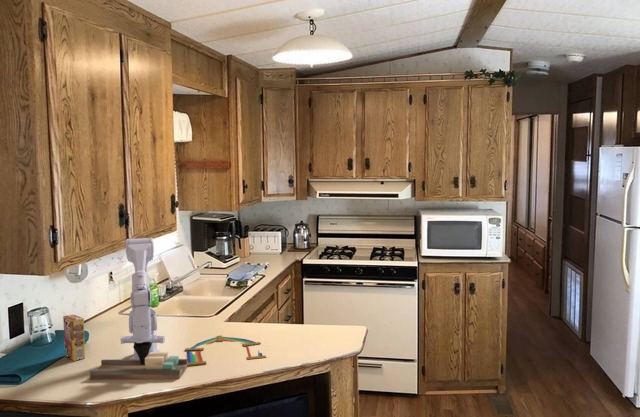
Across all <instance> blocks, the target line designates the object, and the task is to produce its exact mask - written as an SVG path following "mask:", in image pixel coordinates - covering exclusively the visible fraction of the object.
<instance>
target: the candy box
mask: <svg viewBox="0 0 640 417" xmlns="http://www.w3.org/2000/svg"><path fill="white" fill-rule="evenodd" d="M62 320H63V340H64V341H63V343H64V344H65V345H66V348H67V353H68V354H67V355H68V357H70V358H71V359H70V358H69V359H70V360H72V361H74V362H75V361H80V360H84V359H85V358H86V352H85V350H86V349H85V322H84V320H85V319H84V317H81V316H79V315H76V314H73V313H72V314H67V315H63V316H62ZM65 345H64V346H65ZM68 357H67V358H68ZM79 359H80V360H79Z"/></svg>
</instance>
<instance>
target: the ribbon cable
mask: <svg viewBox="0 0 640 417" xmlns="http://www.w3.org/2000/svg"><path fill="white" fill-rule="evenodd" d="M216 342H218V343H224V342H229V343H235V342H236V343H240V344H241V345H242V347H244V348H246V351H247V354H248V356H247V357H246V360H247V361H249V360H258V359H267V356H266V355H263V353H262V352H260V351H259V350H257V351H258V353H257V355H256V356H252V355H251V352H250V348H249V346H253V347H254V346H256V345H261V344H262V343H261V342H260V341H257V342H256V341H254V340H250V339H246V338H241V337H240V338H239V337H232V336H231V337H227V336H222V335H216V337H215V336H214V337H212V338H209V339H206V340H203V341H200V342H197V343H195V345H193V346H191V347H190V348H189V347H187V348H186V347H185V349H184V352H186V355H187V356H186V357H187V367H195V366H204V365H207V361H206V360H205V361H204V360H203V357H202V352H203V351H204V350H205V348H204V347H200V346H204V345H206V346H208V345H211V344H214V343H216ZM193 351H194V354H193Z"/></svg>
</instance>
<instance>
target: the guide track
mask: <svg viewBox="0 0 640 417" xmlns="http://www.w3.org/2000/svg"><path fill="white" fill-rule="evenodd" d="M187 363H188V358H179V355H170V356H168V359H167V360H166V361H165V363H164V364H163V369H145V364H144V365H141V362H140V359H130V358H129V359H128V358H127V359H126V358H125V359H102V360H100V365H99V366H98V367H97V368H96V369H93V368H92V369H90V370H89V379H90V380H164V379H165V380H169V379H170V380H172V379H173V380H176V379H178V380H179V379H181V377H182V376H183V375H184V373H185V372H186V370H187V369H188V366H187Z"/></svg>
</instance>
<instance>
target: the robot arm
mask: <svg viewBox="0 0 640 417" xmlns="http://www.w3.org/2000/svg"><path fill="white" fill-rule="evenodd" d="M154 253H155V249H154V238H153V237H145V238H144V237H141V238H126V240H125V254H126V259H127V262H129V263H132V265H133V267H134V273H133V274H131V292H130V306H131V310H130V311H129V314H128V332H129V334H132V335H129V336H127V335H126V336H121V337H120V344H121V345H122V344H123V345H124V344H133V346H132V348H133V355H132V356H131V357H130V358H129V359H140V362H141V365H144V364H145V358H146V357H147V356H148V354H149V353H150V352H160V349H158V344H165V342H166V339H165V338H166V336H165V335H157V333H156V331H157V330H158V323H157V321H158V320H157V311H156V309H155V308H153V307H152V291H151V287H150V275H149V273H148V270H147V268H148V265H149V262H152V260H154V259H153V258H154Z"/></svg>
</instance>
